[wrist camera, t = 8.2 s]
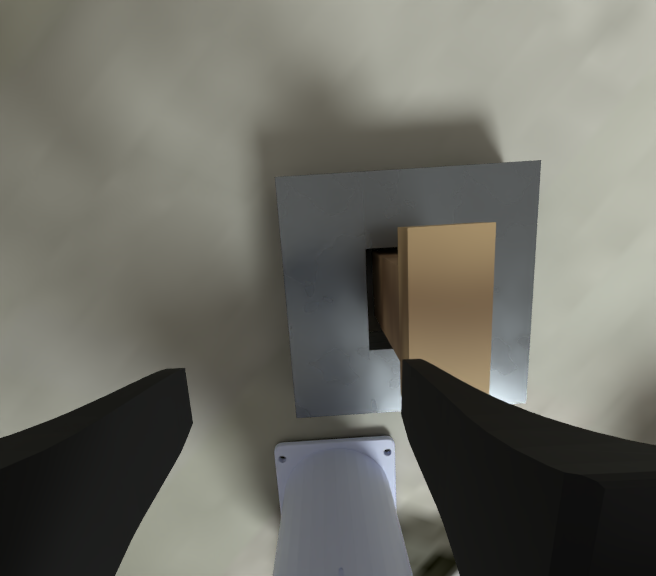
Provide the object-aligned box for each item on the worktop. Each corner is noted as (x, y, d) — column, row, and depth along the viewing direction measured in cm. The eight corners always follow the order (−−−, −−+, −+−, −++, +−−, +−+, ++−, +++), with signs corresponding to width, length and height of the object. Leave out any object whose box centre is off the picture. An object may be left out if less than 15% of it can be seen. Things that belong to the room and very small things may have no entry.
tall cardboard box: (421, 334, 21) (488, 410, 12) (374, 337, 21) (409, 415, 12) (421, 222, 19) (496, 222, 11) (371, 225, 19) (407, 227, 11)
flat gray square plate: (497, 378, 21) (526, 402, 18) (300, 391, 21) (296, 417, 18) (506, 170, 19) (541, 160, 16) (282, 184, 19) (274, 176, 16)
